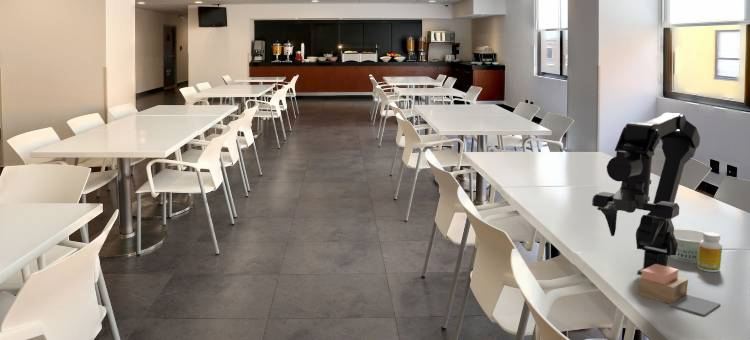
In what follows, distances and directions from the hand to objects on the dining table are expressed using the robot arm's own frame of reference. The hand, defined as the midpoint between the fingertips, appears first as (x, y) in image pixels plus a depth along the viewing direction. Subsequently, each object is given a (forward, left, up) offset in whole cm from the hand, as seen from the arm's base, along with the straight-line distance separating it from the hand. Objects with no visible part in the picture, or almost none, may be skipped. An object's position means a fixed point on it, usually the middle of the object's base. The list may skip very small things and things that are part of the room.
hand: (631, 239), depth 156 cm
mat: (-2, +15, -13) cm, 20 cm away
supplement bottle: (-30, +7, -13) cm, 33 cm away
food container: (-36, -1, -13) cm, 38 cm away
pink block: (-3, +6, -9) cm, 11 cm away
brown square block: (-3, +7, -13) cm, 15 cm away
